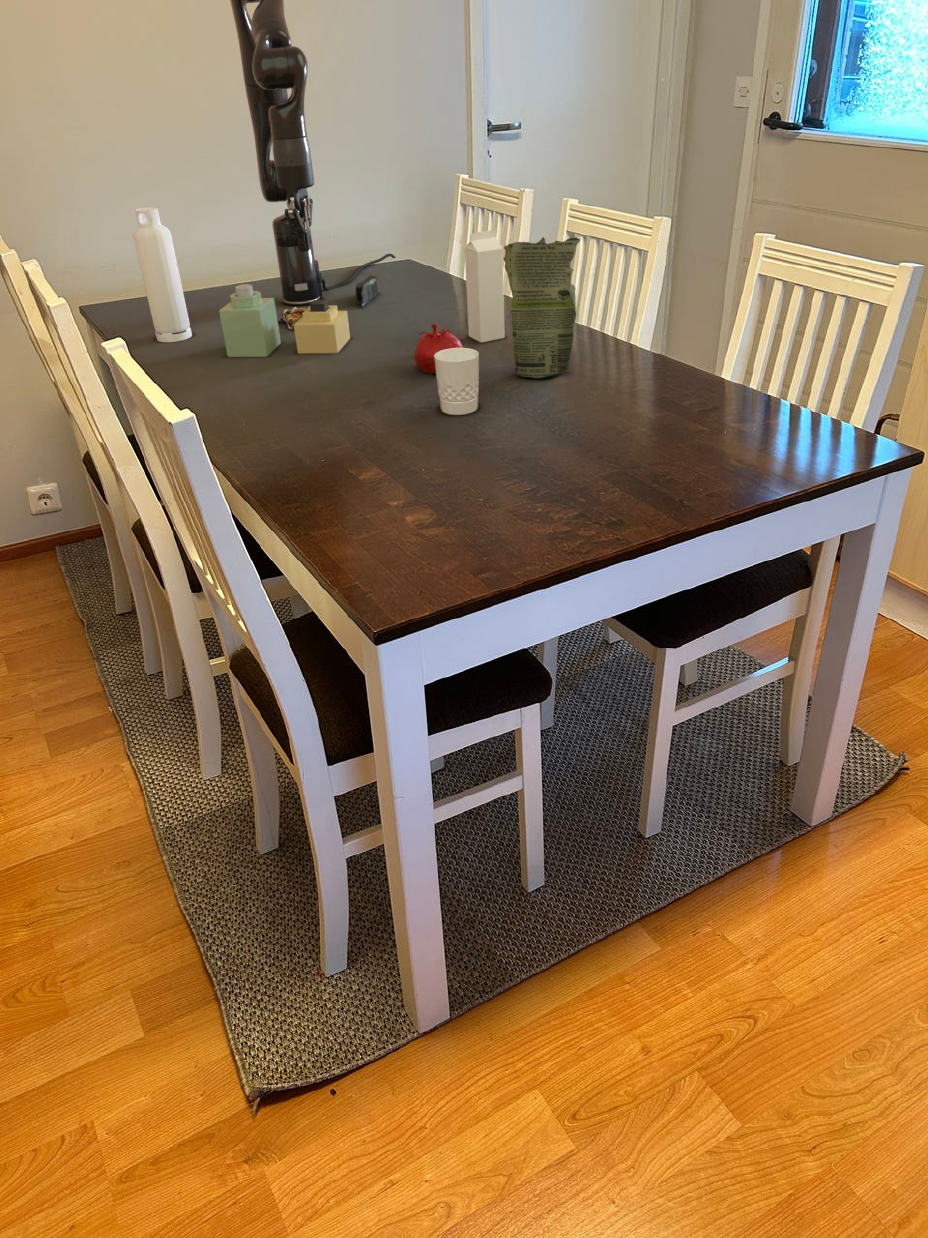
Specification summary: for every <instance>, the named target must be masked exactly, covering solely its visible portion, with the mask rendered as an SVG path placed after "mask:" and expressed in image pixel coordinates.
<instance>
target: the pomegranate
mask: <svg viewBox="0 0 928 1238" xmlns="http://www.w3.org/2000/svg"><path fill="white" fill-rule="evenodd" d="M431 328H432V332H428V331H420V333H418V335H419V336H420V335H422V334H424V335H423V336H421V337H420V339H419V342H417V344H416V347H415V350H414V354H413V358H414V361H415V364H416V366H417V368H418V369H419V370H420V371H422V372H423V373H425V374H429V375H436V368H435V359H434V355H435V354H436V353H437V352H439V351H441V350H445V349H450V348H464V347H463V345H462V341H460V339H459V338H458V337H456V336H455V335H454V334H455V331H453V330H451V329H450V328H447V327H446V328H445V327H444V328H442V329H441V330H440V331H438V323H432V324H431ZM452 333H453V334H452Z"/></svg>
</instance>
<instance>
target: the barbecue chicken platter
mask: <svg viewBox="0 0 928 1238" xmlns="http://www.w3.org/2000/svg"><path fill="white" fill-rule="evenodd" d="M306 309H307V307H304V306H302V307H299V308H298V307H296V306H294V307H293V308H291V309H286V308H284V309H283V313H282V314H281V317H282V318H279V319H278V321H279V322H280V324H282V323H283V322H286V324H287V328H288V329H289V330H291V329H292V330H294V324H295V323H296V322H297V321H299V320H300V319H301V318H302V317H303V315H302V313H303V312H304V311H305V310H306ZM279 322H278V323H279Z"/></svg>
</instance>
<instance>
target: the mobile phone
mask: <svg viewBox="0 0 928 1238" xmlns="http://www.w3.org/2000/svg"><path fill="white" fill-rule="evenodd" d="M378 292H379V289H378V280H377V276H375V275H368V276H367V277H365V278H364V279H363V280H361V281H359V282H357V283H356V286H355V297H356V303H357V304H360V307H361V308H363V307H364V306H365V305H366V304H367V303H369V302H370V301H371V300H372V299H373V298H375V297H376V296H377V295H378Z"/></svg>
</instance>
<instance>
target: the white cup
mask: <svg viewBox="0 0 928 1238" xmlns="http://www.w3.org/2000/svg"><path fill="white" fill-rule="evenodd" d="M434 359H435V368H436V374H435V376H436V384H437V392H438V397H439V407H440V410H441V412H442V413H444V414H447V415H451V416H463V415H468V414H472V413H474V412H475V411H477V410H478V408H479V389H480V388H479V387H480V386H479V381H480V352H479V351H478V350H476V349H473V348H469V347H463V348H450V349H445V350H441V351H439V352H437V353H436V354H435V355H434Z"/></svg>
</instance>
